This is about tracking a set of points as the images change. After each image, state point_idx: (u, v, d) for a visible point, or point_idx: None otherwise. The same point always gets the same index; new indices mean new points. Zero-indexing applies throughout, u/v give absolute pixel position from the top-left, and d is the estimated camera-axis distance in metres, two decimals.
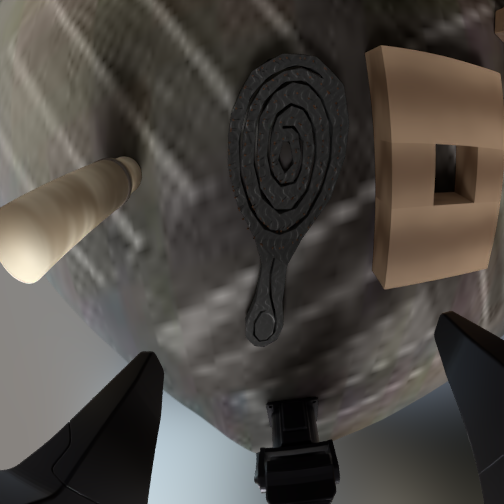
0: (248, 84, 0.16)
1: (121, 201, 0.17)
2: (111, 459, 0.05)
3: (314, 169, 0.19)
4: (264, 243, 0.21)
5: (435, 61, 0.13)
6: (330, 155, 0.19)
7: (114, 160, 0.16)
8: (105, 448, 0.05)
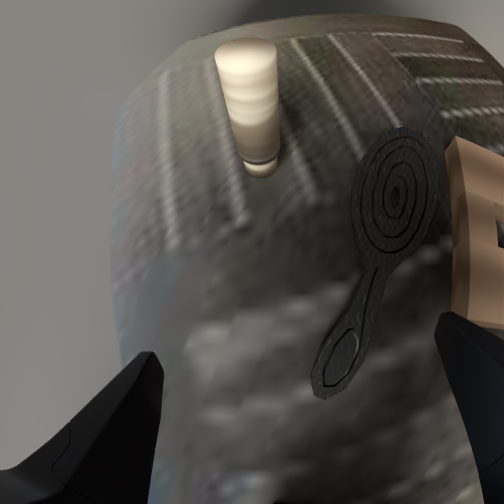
0: (379, 139, 0.23)
1: (271, 149, 0.21)
2: (111, 459, 0.05)
3: (414, 213, 0.22)
4: (370, 254, 0.21)
5: (487, 153, 0.21)
6: (424, 208, 0.22)
7: None
8: (105, 448, 0.05)
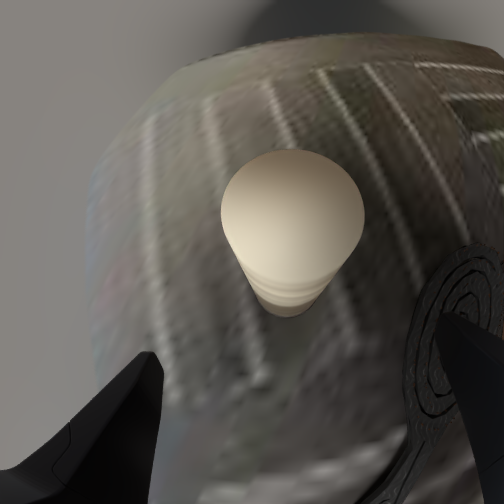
0: (448, 264, 0.16)
1: (308, 306, 0.14)
2: (111, 459, 0.05)
3: None
4: (419, 425, 0.14)
5: None
6: None
7: None
8: (105, 448, 0.05)
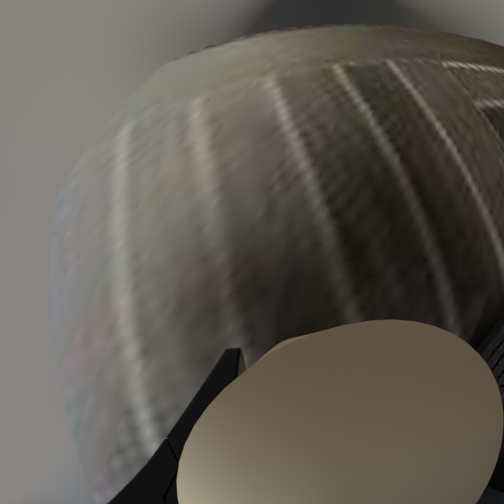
0: (498, 335, 0.11)
1: None
2: None
3: None
4: None
5: None
6: None
7: None
8: None
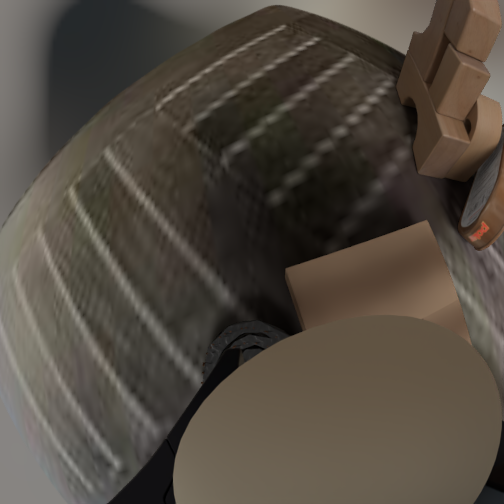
0: (208, 358, 0.19)
1: None
2: None
3: None
4: None
5: (347, 256, 0.19)
6: None
7: None
8: None
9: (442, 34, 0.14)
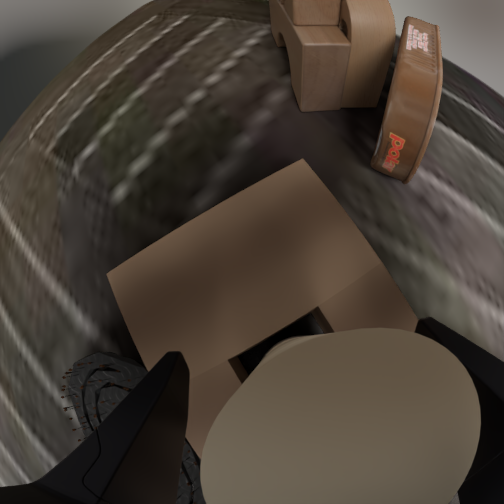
0: (74, 402, 0.13)
1: None
2: (144, 465, 0.04)
3: (185, 465, 0.13)
4: None
5: (178, 239, 0.14)
6: None
7: None
8: (138, 454, 0.04)
9: None
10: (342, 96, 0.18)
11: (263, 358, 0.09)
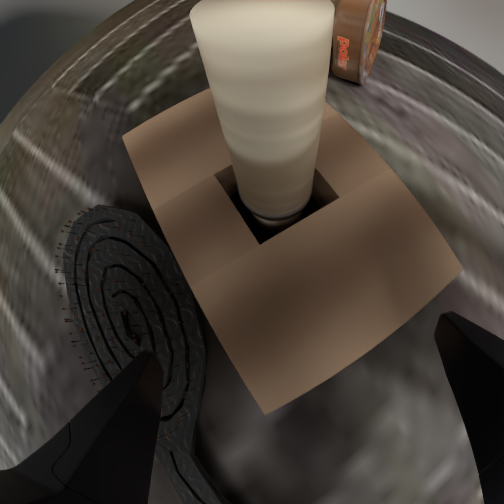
0: (66, 269, 0.15)
1: (300, 198, 0.12)
2: (111, 459, 0.05)
3: (166, 325, 0.15)
4: None
5: (182, 107, 0.16)
6: None
7: None
8: (105, 448, 0.05)
9: None
10: None
11: None
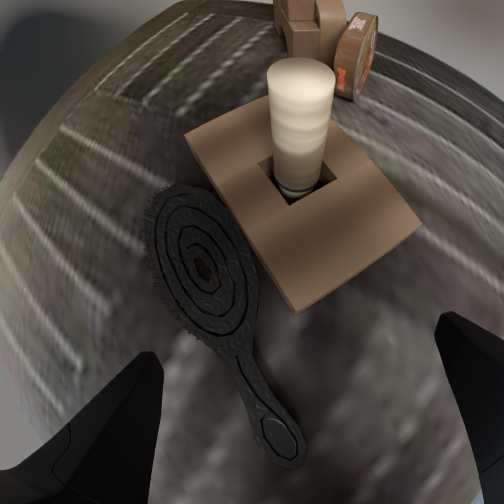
0: (147, 230, 0.23)
1: (313, 177, 0.20)
2: (111, 459, 0.05)
3: (230, 265, 0.23)
4: (222, 348, 0.20)
5: (228, 116, 0.24)
6: (236, 247, 0.23)
7: None
8: (105, 448, 0.05)
9: None
10: None
11: None
